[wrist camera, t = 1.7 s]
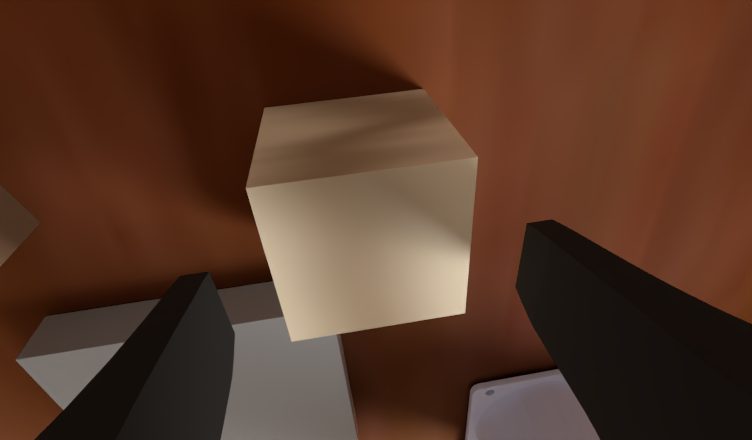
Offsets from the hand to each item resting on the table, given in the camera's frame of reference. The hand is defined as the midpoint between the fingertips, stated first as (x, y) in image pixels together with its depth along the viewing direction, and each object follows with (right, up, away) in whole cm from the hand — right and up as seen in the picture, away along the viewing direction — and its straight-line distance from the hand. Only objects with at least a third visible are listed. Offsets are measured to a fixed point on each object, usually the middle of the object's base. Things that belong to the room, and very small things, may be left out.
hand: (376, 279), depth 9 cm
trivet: (-7, -6, +10) cm, 13 cm away
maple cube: (-1, +3, +5) cm, 6 cm away
